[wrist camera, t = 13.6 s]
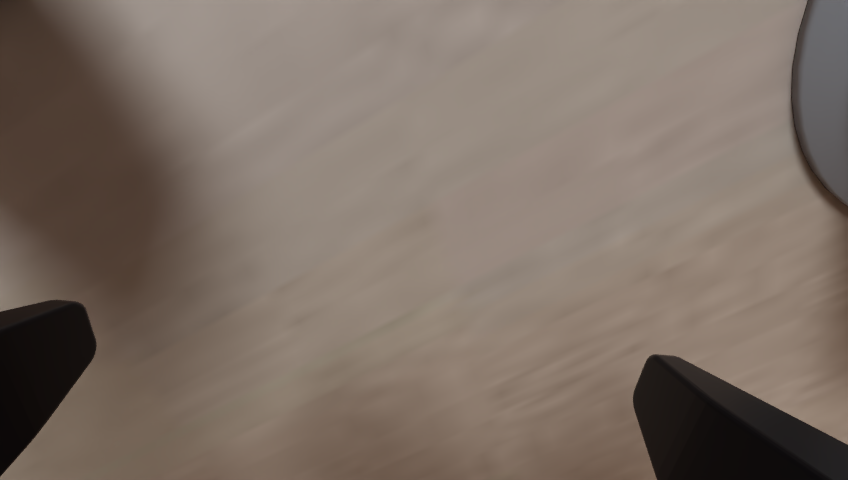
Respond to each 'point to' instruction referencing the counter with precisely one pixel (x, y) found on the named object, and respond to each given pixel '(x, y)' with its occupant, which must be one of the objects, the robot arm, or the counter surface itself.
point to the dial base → (823, 92)
